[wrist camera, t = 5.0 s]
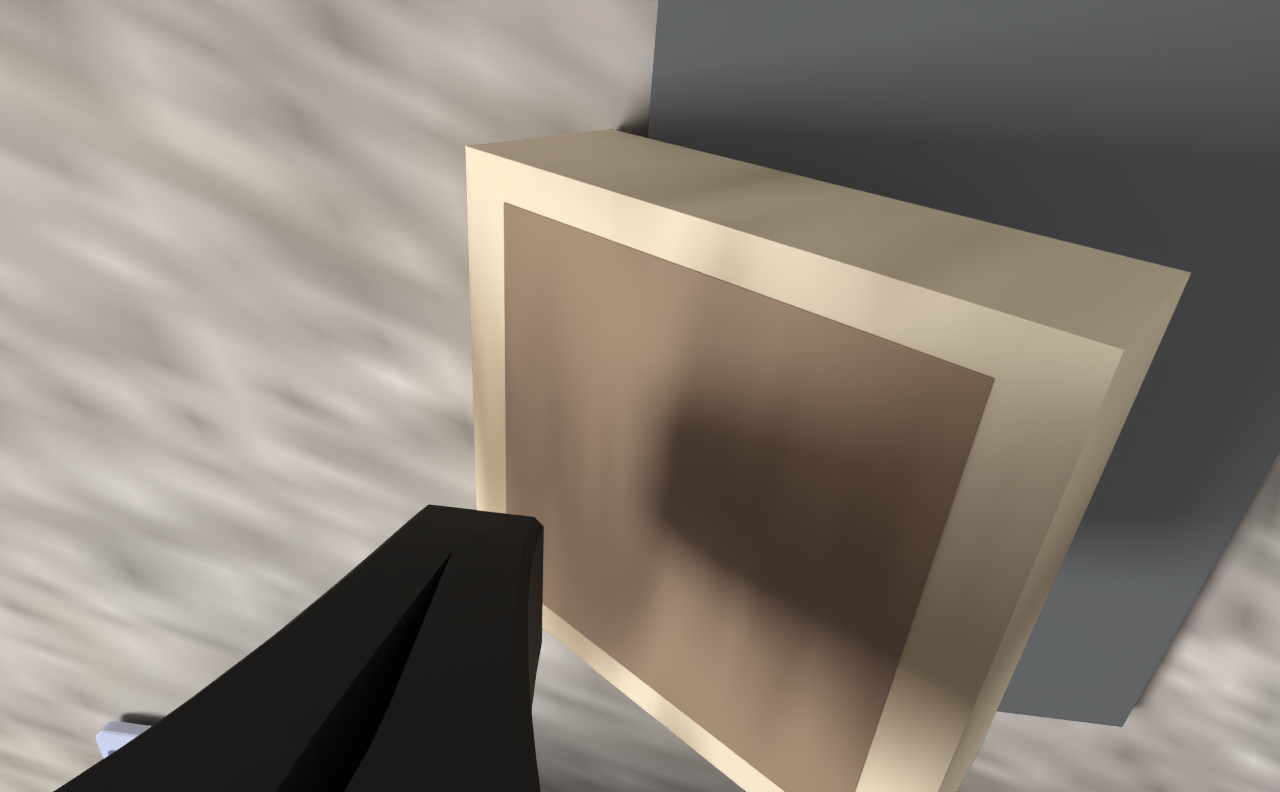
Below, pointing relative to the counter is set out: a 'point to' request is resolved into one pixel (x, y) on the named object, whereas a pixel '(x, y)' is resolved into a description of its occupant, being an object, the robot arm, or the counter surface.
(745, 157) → the mat
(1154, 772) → the counter surface
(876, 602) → the maple slab
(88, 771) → the robot arm
